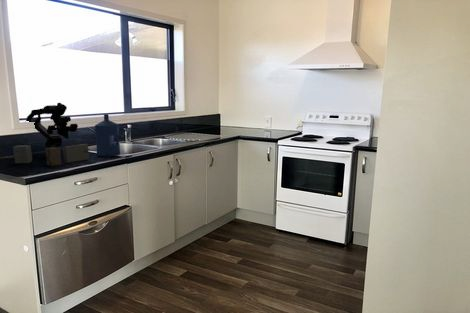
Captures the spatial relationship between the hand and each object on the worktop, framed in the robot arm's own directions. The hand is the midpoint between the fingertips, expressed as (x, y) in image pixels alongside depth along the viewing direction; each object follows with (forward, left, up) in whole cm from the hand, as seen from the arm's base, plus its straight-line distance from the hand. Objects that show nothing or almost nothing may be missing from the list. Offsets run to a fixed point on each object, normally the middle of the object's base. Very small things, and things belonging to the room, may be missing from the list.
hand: (67, 138), depth 235 cm
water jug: (-16, +20, -14) cm, 29 cm away
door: (+9, +9, -13) cm, 18 cm away
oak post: (+17, -1, -13) cm, 22 cm away
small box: (+11, -24, -14) cm, 30 cm away
